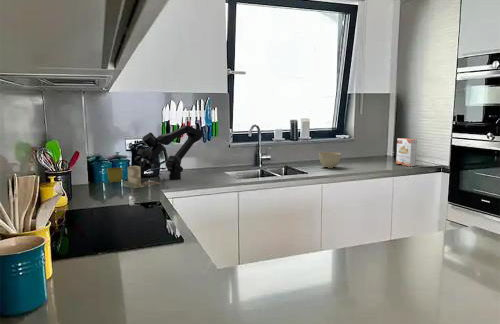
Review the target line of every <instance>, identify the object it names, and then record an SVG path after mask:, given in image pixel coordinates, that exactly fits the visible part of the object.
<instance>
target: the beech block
mask: <svg viewBox="0 0 500 324" xmlns="http://www.w3.org/2000/svg"><path fill="white" fill-rule="evenodd" d="M141 175H142V173H141V170H140V165H131V166H130V165H129V166H127V182H131V183H135V187H138V186H141V184H142V176H141Z"/></svg>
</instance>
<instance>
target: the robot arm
mask: <svg viewBox="0 0 500 324" xmlns="http://www.w3.org/2000/svg"><path fill="white" fill-rule="evenodd" d="M183 135H187V139H186V140H185V142H184V143H183V144H182V145H181V146H180V148H179V149H178V151H176V153H175V154H174V155H169V156H168V157H167V159H166V161H165V163H164V164H165V168H166V169H167V172H169V173H168V180H169V181H178V180H180V181H181V180H182V175H181V174H182V172H183V170H184V168H183V166H182V165H181V164H182V159H183V158H184V157H185V155H186V154H187V153H188V152H189V151H190V149H191V148H192V147H193V145H194V144H196V143H197V142H199V141H200V140H201V139H202V138H203V136H204V134H203V131H202V130H201V129H197V128H195V127H193V126H191V125H183V126H181V127H179V128H177V129H175V130H173V131H171V132H169V133H163V134H159V135H158V136H157V137H156V136H155V135H154V133H152V132H148V133H147V134H146V135H144V136H143V137H142V139H141V141H142V142H143V143H144V144H145V145H146V146H147V147H148V148H145V149H144V148H138V150H137V153H136V154H137V155H139V156H135V157H134V158H133V160H134V161H135V162H136V163H137V164H138V165H139V166H140V170H141V174H142V173H145V172H147V171H148V170H150V169H153V166H154V165H155V166H154V168H155V169H160V167H161V163H160V161H158V160H157V159H159V158H160V157H159V155H161V153H162V152H167V149H166V146H169V145H170V144H171V143H173V142H174V140H175V139H177V138H179V137H181V136H183ZM149 148H150V149H149Z"/></svg>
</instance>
